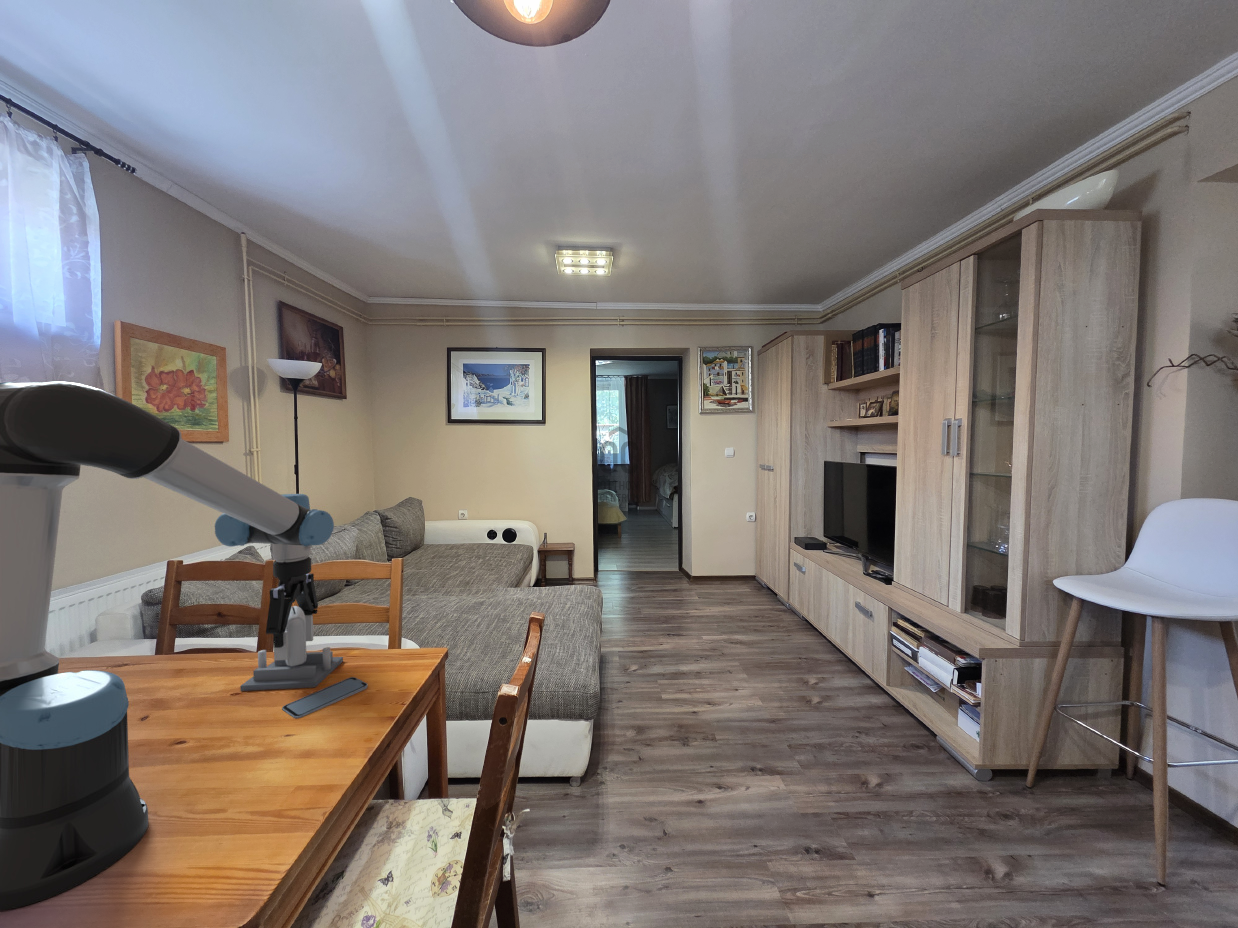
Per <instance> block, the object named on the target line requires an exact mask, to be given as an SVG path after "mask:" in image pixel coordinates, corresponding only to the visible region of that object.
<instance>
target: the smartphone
mask: <svg viewBox="0 0 1238 928" xmlns="http://www.w3.org/2000/svg"><path fill="white" fill-rule="evenodd" d="M367 689H368V683H367V682H365V681H363V680H362V679H359V678H357V677H355V676H351V677H347V678H345V679H342V680H341V681H338V682H335V683H334V684H331V685H329V686H327V687H325V688H321V689H319V690H317V691H315V692H313V693H310V694H308V695H305V696H303V697H300V698H298V699H297V700H294V701H292V702H290V703H287V704H285V705H283V706H282V708H281V710H282V711H284V712H285V713H286V714H287V715H289V716H290V717H292V718H293V719H300V718H303V717H305V716H307V715H310V714H312V713H314V712H317V711H319V710H321V709H324V708H326V707H328V706H330V705H333V704H335V703H337V702H339V701H341V700H343V699H346V698H349V697H350V696H353V695H355V694H358V693H360V692H362V691H365V690H367Z"/></svg>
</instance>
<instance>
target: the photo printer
mask: <svg viewBox="0 0 1238 928" xmlns="http://www.w3.org/2000/svg"><path fill="white" fill-rule="evenodd" d="M285 631H288V647H289V659H287V660H285V661H286V664H287V665H288V666H289V665H290V666H296V665H300V664H302V663H304V662H305V661H306V657H307V655H306V653H307V641H306V620H305V614H304V612H303V610H302V609H301V608H300V607H299V606H297V605H294V606H292V607H291V610H290V614H289V618H288V622H287V626H286V630H285Z"/></svg>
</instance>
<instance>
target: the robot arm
mask: <svg viewBox="0 0 1238 928" xmlns="http://www.w3.org/2000/svg"><path fill="white" fill-rule="evenodd" d="M81 466H87V467H92V468H97V469H101V470H105V471H108V472H112V473H114V474H117V475H120V476H122V477H124V478H126V479H130V480H138V479H142V478H143V479H146V480H149V481H151V482H152V483H155V484H158V485H159V486H162V487H163V488H166V489H168V490H171V491H173V492H174V493H175V492H176V493H177V494H180V495H182V496H184V497H187V498H189V499H190V500H193V501H194V502H197V503H199V504H202V505H204V506H206V507H208V508H211V509H213V510H216V511H217V512H219V513H221V514H220V515H219V516H218V517H217V519H216V520H215V523H214V535H215V537H216V538H217V540H218V542H219V543H220V544H222V545H224V546H225V547H238V546H245V545H248V544H264V545H265V544H269V545H270V544H271V545H272V547H271V548H272V559H273V560H274V561H273V563H272V573H273V574H272V575H273V577H274V578H277V579H278V580H279V581H278V585H277V587H275V588H270V589H269V604H268V613H267V619H266V629H265V635H266V634H267V635H273V636H272V637H273V657H274V659H273V660H274V661H275V660H287V659H289V647H288V631H285V630H286V626H287V622H288V618H289V614H290V610H291V607H293V604H294V603H295V602H296V603H297V605H298V607H300V608H301V609H302V610H303V612H304V614H305V620H306V642H313V641H314V619H313V618H314V617H313V615H314V614H315V615H316V614H317V613H318V612H319V611H318V608H319V604H318V597H317V592H316V587H315V583H314V581H315V580H314V577H315V574H314V573H311V572H312V558H311V553H312V551H311V548H312V546H320V545H323V544H325V543H326V542H328V541H329V540H330V538H331V537H332V534H333V532H334V528H335V522H334V518H333V517H332V515H331V514H330V513H329V512H328V511H325V510H321V509H316V508H312V509H311V505H310V499H309V496H308V495H307V494H304V493H286V494H280V493H279V492H277V491H275V490H273V489H272V488H270V487H268V486H267V485H264V484H263V483H261V482H259V481H257V480H256V479H254V478H252V477H250V476H249V475H247V474H245V473H244V472H242V471H240V470H238V469H236V468H234V467H233V466H231V465H229V464H227V463H226V462H224V461H223V460H220V459H219V458H216V457H215V456H213V455H211V454H209V453H208V452H206V451H205V450H202V449H201V448H199V447H197V446H195V445H194V444H192V443H190V442H188V441H186V440H184V439H183V438H182V433H181V431H180V429H179V428H177V427H175V426H174V425H172V424H170V423H168V422H167V421H165V420H164V419H162V418H160V417H158V416H156V415H154V414H152V413H151V412H149V411H147V410H145V409H143V408H142V407H139V406H137V405H136V404H134V403H132V402H130V401H128V400H126V399H123V398H122V397H119V396H117V395H115V394H112V393H111V392H107V391H105V390H103V389H100V388H96V387H94V386H89V385H86V384H83V383H78V382H69V381H47V382H0V911H5V910H14V909H17V908H21V907H25V906H28V905H32V904H35V903H37V902H38V903H39V902H40V901H44V900H46V899H49V898H52V897H54V896H57V895H59V894H62V893H64V892H66V891H68V890H70V889H72V888H74V887H77V886H78V885H80V884H82V883H84V882H86V881H88V880H89V879H91V878H93V877H95V876H97V875H98V874H100V873H102V872H103V871H105V870H106V869H108V868H109V867H110V866H112V865H113V864H115V863H116V862H118V861H120V859H121V858H123V857H124V856H126V855H127V854H128V853H129V852H130V851H132V849H133V848H134V847H135V846H137V844H138V843H139V842H140V841H141V839H142V838H143V837H144V836H145V834H146V833H147V829H148V827H149V808H148V805H147V803H146V801H145V800H144V799H143V798H141V796H140V794H139V791H138V789H137V787H136V785H135V784H134V782H133V781H132V779H131V777H130V765H129V728H128V726H129V725H128V710H129V709H128V708H129V697H128V696H127V690H126V685H125V682H124V680H123V679H122V678H121V676H119V675H117V674H116V673H113V672H109V671H105V670H96V669H94V670H93V669H92V670H91V669H90V670H89V669H88V670H87V669H86V670H85V669H84V670H81V671H78V672H74V671H67V672H61V673H59V666H60V657H58V656H56V655H54V654H53V653H51V652H49V651H47V650H46V640H47V632H48V623H49V613H50V604H51V596H52V595H51V594H52V588H53V587H52V585H53V579H54V578H53V577H54V571H55V569H54V568H55V561H56V559H55V558H56V551H57V541H58V533H59V524H60V516H61V506H62V498H63V490H64V489H65V487H67V486H68V485H71V484H72V483H73V482H75V481H77V480H79V479H80V475H81ZM274 661H273V662H274Z"/></svg>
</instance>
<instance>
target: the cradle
mask: <svg viewBox="0 0 1238 928" xmlns="http://www.w3.org/2000/svg"><path fill="white" fill-rule="evenodd" d="M306 652H307V651H306ZM306 655H307V657H306V661H305V662H304V663H302V664H300V665H296V666H290V665H289V666H288V665H287V664H286V661H285V660H275V661H272V662H271V663H270V664H269V665H268V664H267V649H262V650H258V652H257V668H255V669H254V670H253V672H252V674H253V675H252V677H250V678H249V679H248V680H246V681H245V682H244V683H242V684H241V685H240V687H239V688H240V690H239V691H240V692H243V691H244V692H245V691H247V692H249V691H265V690H284V689H287V690H288V689H303V688H304V689H305V688H317V687H318V685H320V684H321V682H323V681H324V680H325V679H326V678H327V677H328V676H329V675H330V674H332V672H333V671H334V670H336V669H337V668H338V667H339V666H340V665H341V664H342V663H343V662H344V657H343V656H334V655H333V651H332V650H331V647H329V646H327V647H323V648H322V651H312V652H311V651H309V652H307V653H306Z"/></svg>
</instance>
